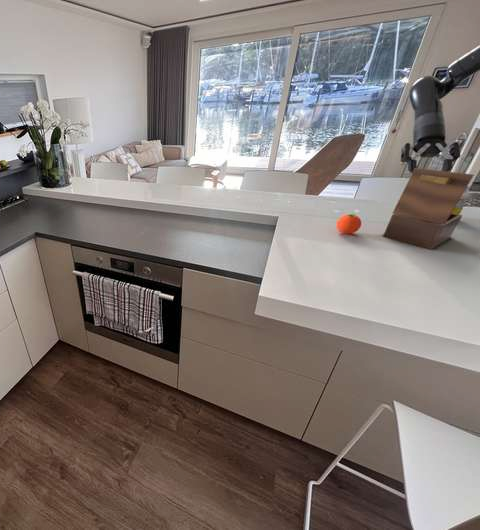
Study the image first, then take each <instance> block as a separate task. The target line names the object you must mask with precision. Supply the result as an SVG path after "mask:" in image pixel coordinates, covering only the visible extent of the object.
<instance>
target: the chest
mask: <svg viewBox="0 0 480 530" xmlns="http://www.w3.org/2000/svg"><path fill="white" fill-rule="evenodd" d="M462 217H463V215H462V214H459V215H458V214H453V213H451V215H450V217H449V218H448V220H447V222H446V223H445V225H443V224H438V223H432V222H427V221H422V220H418V219H416V218H411V217H406V216H402V215H397V214H393V213H392V214H391V216H390V219H389V221H388V224H387V226H386V229H385V231H384V233H383V237H386V238H390V239H392V240H397V241H400V242H405V243H407V244H411V245H415V246H418V247H422V248H426V249H430V250H432V249H434V248H435V247H437V246H439V245H441V244H442V243H444V242H446V241H447V240H449V239H451V237H452V235H453V233H454V231H455V230H456V228H457V226H458V225H459V223H460V221H461V219H462Z"/></svg>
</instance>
